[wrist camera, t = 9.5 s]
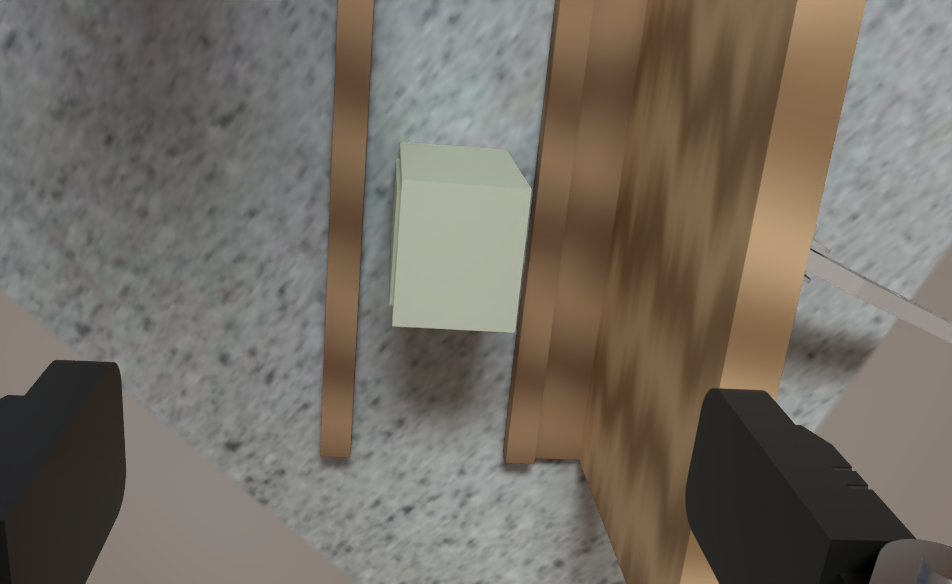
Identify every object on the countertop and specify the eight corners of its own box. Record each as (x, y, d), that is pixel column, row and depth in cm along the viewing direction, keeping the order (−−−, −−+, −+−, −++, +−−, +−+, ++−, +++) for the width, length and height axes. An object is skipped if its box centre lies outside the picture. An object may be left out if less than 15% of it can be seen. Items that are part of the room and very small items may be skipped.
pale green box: (396, 141, 41) (398, 179, 34) (506, 149, 42) (531, 189, 34) (388, 264, 43) (388, 326, 36) (493, 270, 44) (514, 332, 36)
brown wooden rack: (343, -100, 38) (311, -146, 23) (697, -62, 39) (884, -82, 24) (321, 444, 46) (288, 671, 31) (613, 455, 48) (714, 675, 33)
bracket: (740, 178, 41) (922, 281, 34) (935, 282, 55) (1096, 373, 47) (703, 237, 42) (873, 351, 35) (904, 326, 56) (1057, 421, 48)
